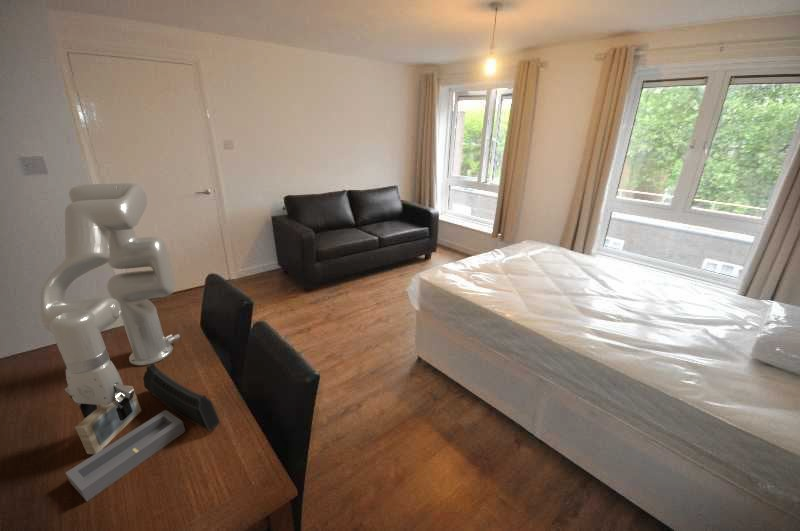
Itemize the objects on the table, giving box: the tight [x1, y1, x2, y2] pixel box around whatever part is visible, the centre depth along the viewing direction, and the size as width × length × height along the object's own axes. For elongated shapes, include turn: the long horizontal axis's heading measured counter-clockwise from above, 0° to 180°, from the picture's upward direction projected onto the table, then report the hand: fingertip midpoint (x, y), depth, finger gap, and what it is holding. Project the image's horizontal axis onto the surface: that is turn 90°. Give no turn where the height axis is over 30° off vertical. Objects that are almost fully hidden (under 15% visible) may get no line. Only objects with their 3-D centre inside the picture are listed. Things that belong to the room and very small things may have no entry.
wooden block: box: [74, 385, 142, 455], centre depth 87 cm, size 14×3×9 cm, turn 176°
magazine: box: [142, 363, 221, 432], centre depth 93 cm, size 17×3×30 cm
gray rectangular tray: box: [65, 409, 186, 502], centre depth 81 cm, size 21×8×4 cm, turn 151°
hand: (108, 415), depth 86 cm, fingers open, 9 cm apart
